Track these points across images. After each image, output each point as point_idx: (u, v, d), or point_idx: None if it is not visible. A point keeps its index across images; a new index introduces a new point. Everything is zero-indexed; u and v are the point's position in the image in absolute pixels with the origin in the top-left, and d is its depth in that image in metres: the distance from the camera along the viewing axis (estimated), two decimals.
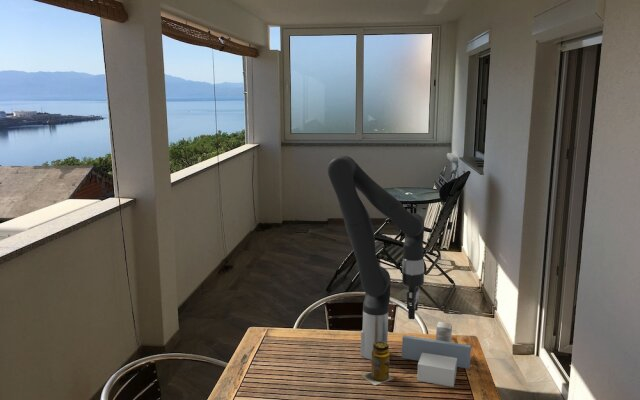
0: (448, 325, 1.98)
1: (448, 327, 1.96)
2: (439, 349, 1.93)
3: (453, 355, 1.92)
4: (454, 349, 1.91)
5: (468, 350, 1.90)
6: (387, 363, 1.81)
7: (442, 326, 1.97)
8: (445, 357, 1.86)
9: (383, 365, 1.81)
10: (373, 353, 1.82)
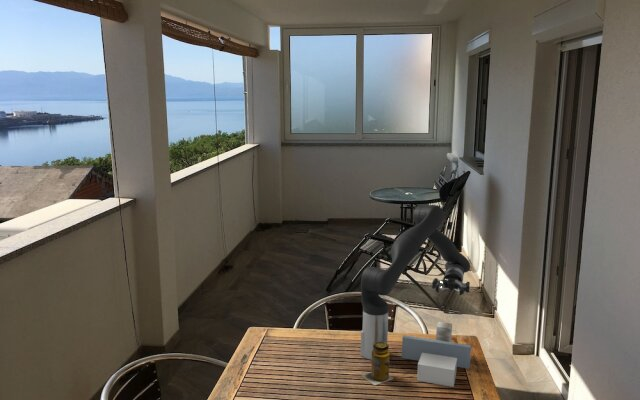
0: (448, 325, 1.98)
1: (448, 327, 1.96)
2: (439, 349, 1.93)
3: (453, 355, 1.92)
4: (454, 349, 1.91)
5: (468, 350, 1.90)
6: (387, 363, 1.81)
7: (442, 326, 1.97)
8: (445, 357, 1.86)
9: (383, 365, 1.81)
10: (373, 353, 1.82)
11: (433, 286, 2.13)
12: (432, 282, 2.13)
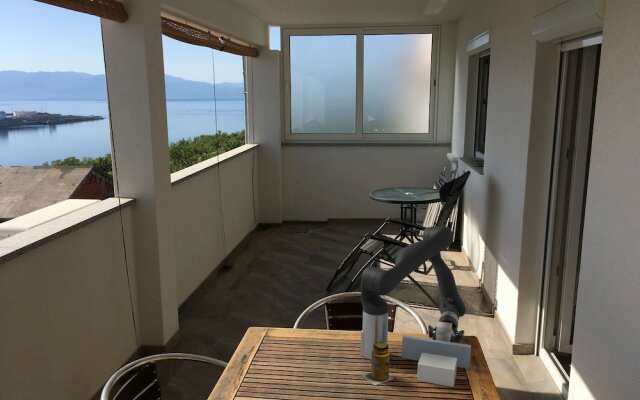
0: (448, 325, 1.98)
1: (448, 327, 1.96)
2: (439, 349, 1.93)
3: (453, 355, 1.92)
4: (454, 349, 1.91)
5: (468, 350, 1.90)
6: (387, 363, 1.81)
7: (442, 326, 1.97)
8: (445, 357, 1.86)
9: (383, 365, 1.81)
10: (373, 353, 1.82)
11: (430, 335, 2.02)
12: (429, 331, 2.02)
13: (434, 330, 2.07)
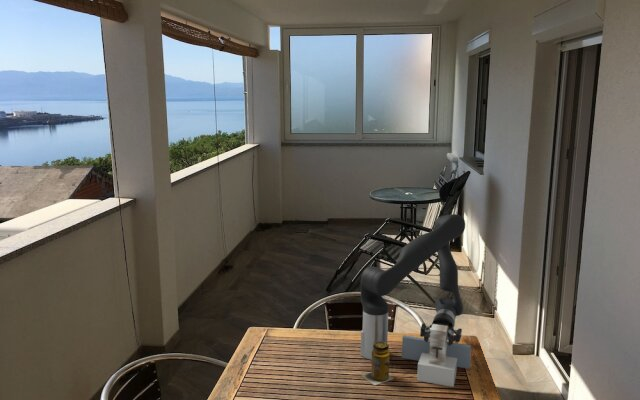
0: (443, 328, 1.81)
1: (443, 330, 1.79)
2: None
3: (453, 355, 1.92)
4: (454, 349, 1.91)
5: (468, 350, 1.90)
6: (387, 363, 1.81)
7: (436, 328, 1.80)
8: None
9: (383, 365, 1.81)
10: (373, 353, 1.82)
11: (421, 334, 1.86)
12: None
13: (428, 329, 1.90)
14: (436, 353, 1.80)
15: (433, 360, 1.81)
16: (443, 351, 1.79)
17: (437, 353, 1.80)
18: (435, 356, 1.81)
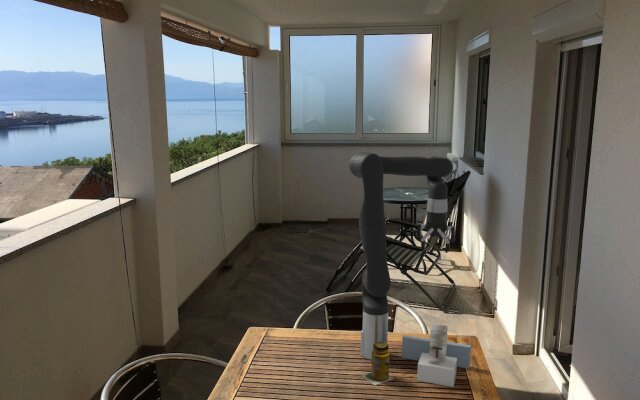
0: (443, 328, 1.81)
1: (443, 330, 1.79)
2: None
3: (453, 355, 1.92)
4: (454, 349, 1.91)
5: (468, 350, 1.90)
6: (387, 363, 1.81)
7: (436, 328, 1.80)
8: None
9: (383, 365, 1.81)
10: (373, 353, 1.82)
11: None
12: None
13: (424, 226, 2.07)
14: (436, 353, 1.80)
15: (433, 360, 1.81)
16: (443, 351, 1.79)
17: (437, 353, 1.80)
18: (435, 356, 1.81)
